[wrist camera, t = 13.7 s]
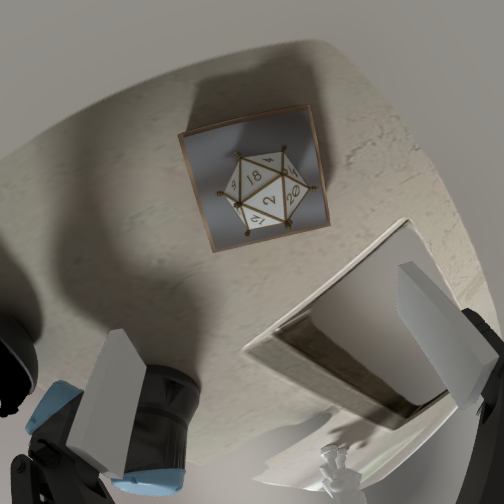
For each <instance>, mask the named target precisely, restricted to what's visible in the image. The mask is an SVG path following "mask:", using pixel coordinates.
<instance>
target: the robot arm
mask: <svg viewBox="0 0 504 504" xmlns="http://www.w3.org/2000/svg"><path fill="white" fill-rule="evenodd" d="M396 312H397V314H398V315H399V316H400V318H401V319H402V321H403V322H404V323H405V325H406V326H407V328H408V329H409V330H410V332H411V334H412V335H413V336H414V338H415V339H416V341H417V342H418V344H419V345H420V347H421V348H422V350H423V351H424V353H425V354H426V356H427V357H428V359H429V360H430V362H431V363H432V365H433V367H434V368H435V370H436V371H437V373H438V374H439V376H440V378H441V379H442V381H443V382H444V384H445V386H446V387H447V389H448V391H449V392H450V394H451V395H452V397H453V399H454V400H455V402H456V404H457V406H458V407H459V409H460V411H463V410H465V409H466V408H468V407H470V406H472V405H473V404H475V403H476V402H477V400H478V398H479V396H480V395H482V397H483V398H484V401H483V403H482V404H481V406H480V408H479V409H478V411H477V414H476V415H479V413H480V412H481V415H480V420H479V425H478V430H477V435H476V439H475V444H474V447H473V451H472V455H471V459H470V462H469V466H468V469H467V472H466V476H465V479H464V482H463V485H462V488H461V491H460V493H459V496H458V499H457V501H456V504H504V342H503V341H502V340H501V339H500V337H499V336H498V335H497V334H496V333H495V332H494V331H493V329H491V328H490V326H489V325H488V324H487V323H485V321H484V320H483V318H482V317H481V316H480V315H479V314H478V313H476V312H474V311H473V310H471V309H469V308H466V309H464V310H461V311H460V310H459V309H458V308H457V306H456V305H455V304H454V303H453V302H452V301H451V300H450V299H449V298H448V297H447V296H446V295H445V294H444V293H443V292H442V291H441V290H440V289H439V288H438V286H437V285H436V284H435V283H433V281H432V280H431V279H430V278H428V276H427V275H426V274H425V273H424V272H423V271H422V270H420V269H419V268H418V267H417V266H416V265H415V264H414V263H413V262H408V263H405V264H402V265H399V266H398V291H397V307H396ZM199 398H200V391H199V388H198V386H197V385H196V383H195V382H194V381H193V380H192V379H191V378H190V377H188V376H187V375H185V374H183V373H181V372H179V371H177V370H175V369H172V368H168V367H164V366H158V365H145V364H144V362H143V361H142V359H141V358H140V356H139V354H138V353H137V351H136V350H135V348H134V346H133V345H132V343H131V341H130V340H129V338H128V336H127V335H126V333H125V331H124V329H116V330H110V332H109V334H108V336H107V339H106V341H105V343H104V345H103V348H102V350H101V352H100V355H99V357H98V359H97V362H96V364H95V367H94V369H93V372H92V374H91V376H90V379H89V381H88V384H87V387H86V389H85V392H84V390H82V389H78V388H77V387H75V386H73V385H71V384H69V383H68V382H66V381H63V380H59V381H56V382H54V383H53V384H52V386H51V387H50V388H49V389H48V391H47V392H46V394H45V395H44V397H43V398H42V400H41V401H40V403H39V404H38V406H37V408H36V409H35V411H34V413H33V415H32V416H31V418H30V420H29V421H28V423H27V425H26V427H25V430H26V432H27V433H28V434H29V435H32V437H31V440H30V443H29V450H28V456H29V457H30V458H31V459H33V460H31V459H30V458H29V457H27V456H26V455H24V454H20V455H18V456H16V457H15V458H14V459H13V461H12V463H11V495H12V504H115V502H114V501H113V499H112V497H111V496H110V494H109V492H108V491H107V489H106V487H105V485H104V484H103V482H102V481H101V479H100V478H98V477H99V473H102V474H103V475H104V476H106V477H107V478H111V483H112V485H113V486H114V487H116V488H118V489H120V490H122V491H126V492H129V493H134V494H139V495H146V496H168V495H173V494H176V493H178V492H179V491H180V490H181V489H182V486H183V481H184V475H185V472H186V470H185V459H186V444H187V430H188V425H189V423H190V421H191V419H192V417H193V415H194V413H195V411H196V409H197V408H198V405H199Z"/></svg>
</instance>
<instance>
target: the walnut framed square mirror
mask: <svg viewBox="0 0 504 504" xmlns="http://www.w3.org/2000/svg"><path fill="white" fill-rule="evenodd" d="M178 138H179V142H180V145H181V149H182V153H183V156H184V160H185V163H186V167H187V170H188V173H189V177H190V180H191V184H192V187H193V190H194V194H195V197H196V200H197V204H198V207H199V210H200V214H201V217H202V220H203V223H204V227H205V230H206V233H207V236H208V239H209V242H210V246H211V249H212V252H213V253H215V252H220V251H224V250H228V249H232V248H237V247H241V246H245V245H250V244H254V243H258V242H262V241H267V240H271V239H275V238H280V237H284V236H288V235H293V234H297V233H301V232H306V231H310V230H315V229H319V228H323V227H328V226H331V225H330V217H329V210H328V202H327V196H326V189H325V182H324V176H323V170H322V164H321V158H320V152H319V147H318V141H317V136H316V131H315V126H314V121H313V116H312V111H311V106H310V105H300V106H293V107H288V108H282V109H277V110H271V111H266V112H262V113H257V114H252V115H248V116H243V117H239V118H235V119H230V120H226V121H222V122H218V123H215V124H211V125H207V126H203V127H200V128H196V129H193V130H189V131H186V132H183V133H181V134H178ZM285 143H287V149H286V150H285V154H286V155H287V156H288V158H289V159H290V160H291V162H292V163H293V165H294V166H295V167H296V169H297V170H298V172H299V173H300V174H301V176H302V177H303V179H304V180H305V182H306V183H307V184H308V186H309V187H311V186H316V187H318V188H319V189H317V190H316V191H311V190H310V191H309V192H308V193H307V195H306V196H305V198H304V199H303V201H302V202H301V203H300V205H299V206H298V208H297V209H296V211H295V212H294V214H293V215H292V217H291V218H290V220H291V221H293V224H292V226H291V230H289V229H286V227H285V224H282V225H277V226H272V227H267V228H262V229H257V230H252V231H250V235H249V236H250V237H247V238H246V239H245V235H244V234H245V232H246V231H247V228H246V227H245V225H244V224H243V223H242V221H241V220H240V218H239V217H238V215H237V214H236V212H235V211H234V209H233V208H232V207H231V205H230V204H229V202H228V201H227V199H226V198H225V196H224V195H222V196H217V195H215V193H217V192H218V191H222V192H223V191H224V190H225V187H226V185H227V183H228V181H229V179H230V177H231V175H232V172H233V170H234V168H235V166H236V164H237V162H238V160H239V159H238V158H236V156H234V155H235V152H234V150H235V151H237V152H240V154H241V156H242V157H244V156H250V155H256V154H262V153H269V152H275V151H281V149H282V148H281V147H282V145H284V144H285Z"/></svg>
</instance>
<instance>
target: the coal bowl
mask: <svg viewBox="0 0 504 504" xmlns="http://www.w3.org/2000/svg"><path fill="white" fill-rule="evenodd" d="M37 379H38V360H37V355H36V351H35V348H34V346H33V343H32V341H31V339H30V337H29V336H28V334H27V333H26V331H25V330H24V328H23V327H22V326H21V325H20V324H19V323H18V322H17V321H16V320H14V319H13V318H12V317H10V316H9V315H7V314H5V313H2V312H0V401H1V408H0V417H2V418H3V417H7V416H8V415H12V414H16V413H17V412H18V411H19V410H18V406H20V405H21V404H22V402H23V401H24V399H25V398H26V396H27V395H30V394H32V393H33V392H34V389H35V387H36V384H37Z"/></svg>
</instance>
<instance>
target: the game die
mask: <svg viewBox="0 0 504 504" xmlns="http://www.w3.org/2000/svg"><path fill="white" fill-rule="evenodd" d="M281 148H282V149H281V151H275V152H269V153H262V154H256V155H250V156H244V157H242V156H241V154H240V152H237V151H235V150H234V152H235V155H234V156H236V158H238V159H239V160H238V162H237V164H236V166H235V168H234V170H233V172H232V175H231V177H230V179H229V181H228V183H227V185H226V187H225V190H224V191H223V192H222V191H218V192H217V193H215V195H217V196H222V195H224V196H225V198H226V199H227V201H228V202H229V204H230V205H231V207H232V208H233V209H234V211H235V212H236V214H237V215H238V217H239V218H240V220H241V221H242V223H243V224H244V225H245V227H246V228H247V231H246V232H245V234H244V235H245V239H246V238H247V237H250V236H249V235H250V231H252V230H257V229H262V228H267V227H272V226H277V225H282V224H285V227H286V229H289V230H291V226H292V224H293V221H291V220H290V218H291V217H292V215H293V214H294V212H295V211H296V209H297V208H298V206H299V205H300V203H301V202H302V201H303V199H304V198H305V196H306V195H307V193H308V192H309V191H310V190H311V191H316V190H317V189H319V188H318V187H316V186H311V187H309V186H308V184H307V183H306V182H305V180H304V179H303V177H302V176H301V174H300V173H299V172H298V170H297V169H296V167H295V166H294V165H293V163H292V162H291V160H290V159H289V158H288V156H287V155H286V154H285V150H286V149H287V143H285V144H284V145H282V147H281Z"/></svg>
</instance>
